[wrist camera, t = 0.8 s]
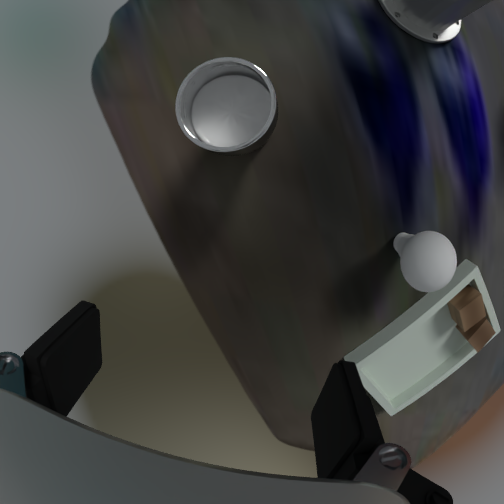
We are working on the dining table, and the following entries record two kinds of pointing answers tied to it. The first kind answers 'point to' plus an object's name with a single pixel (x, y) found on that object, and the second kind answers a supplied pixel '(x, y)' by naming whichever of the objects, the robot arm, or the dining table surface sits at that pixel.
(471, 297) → the walnut block
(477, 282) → the tray
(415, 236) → the lightbulb
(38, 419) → the robot arm
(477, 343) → the walnut block
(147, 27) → the dining table surface
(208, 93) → the beer glass
